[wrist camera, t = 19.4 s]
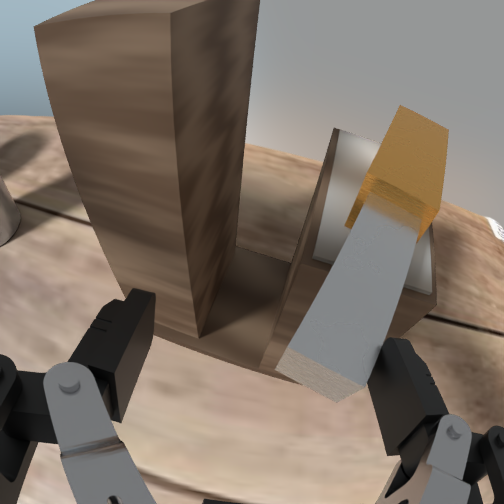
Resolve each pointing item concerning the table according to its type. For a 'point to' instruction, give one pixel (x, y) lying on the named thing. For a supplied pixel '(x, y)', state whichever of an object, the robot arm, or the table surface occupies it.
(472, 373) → the table surface
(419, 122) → the bar
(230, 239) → the zigzag patterned block
